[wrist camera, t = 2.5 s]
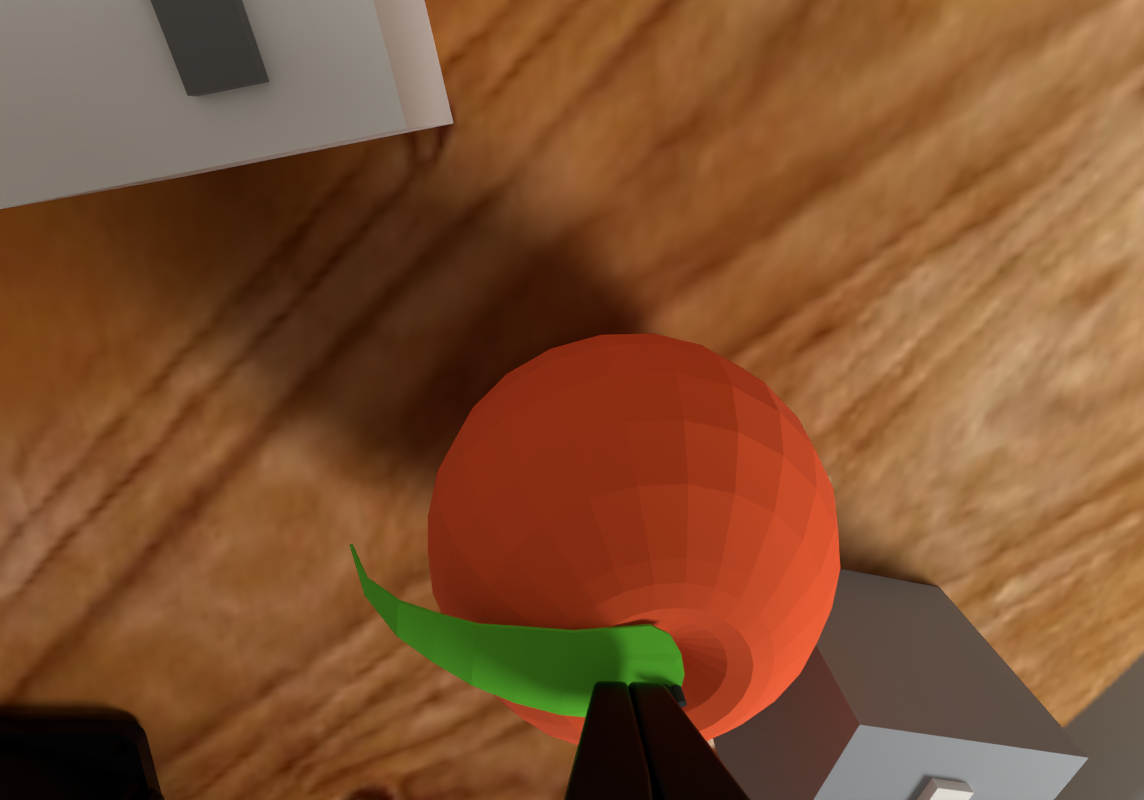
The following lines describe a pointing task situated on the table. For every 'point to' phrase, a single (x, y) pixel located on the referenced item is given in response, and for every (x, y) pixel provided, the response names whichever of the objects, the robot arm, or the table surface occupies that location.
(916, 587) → the slate block
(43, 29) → the pale grey block
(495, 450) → the clementine
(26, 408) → the table surface
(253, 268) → the table surface
